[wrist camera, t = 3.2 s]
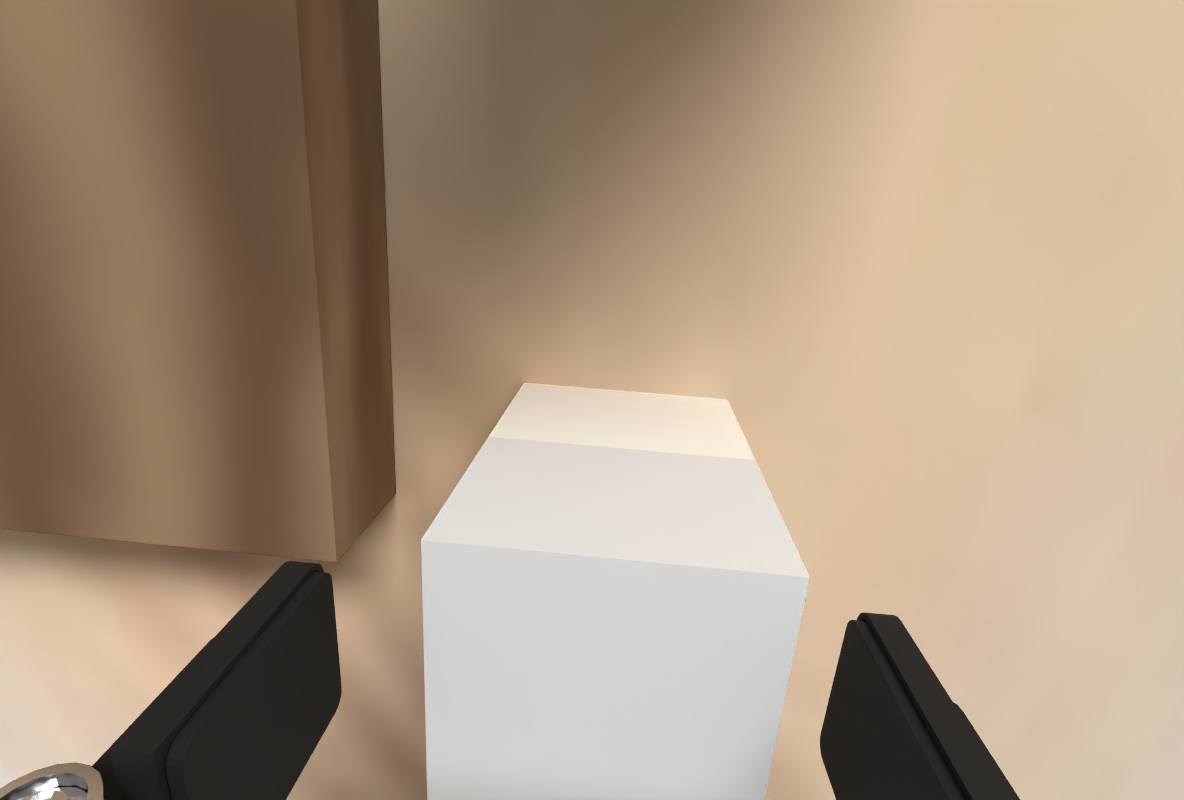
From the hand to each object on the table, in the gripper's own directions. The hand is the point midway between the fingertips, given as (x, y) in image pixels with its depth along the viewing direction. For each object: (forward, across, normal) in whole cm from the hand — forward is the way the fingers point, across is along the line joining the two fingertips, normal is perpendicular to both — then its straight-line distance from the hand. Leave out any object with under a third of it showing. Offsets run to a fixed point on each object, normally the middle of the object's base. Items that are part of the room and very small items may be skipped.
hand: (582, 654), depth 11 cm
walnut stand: (+8, +14, -6) cm, 18 cm away
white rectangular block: (+8, 0, +1) cm, 8 cm away
